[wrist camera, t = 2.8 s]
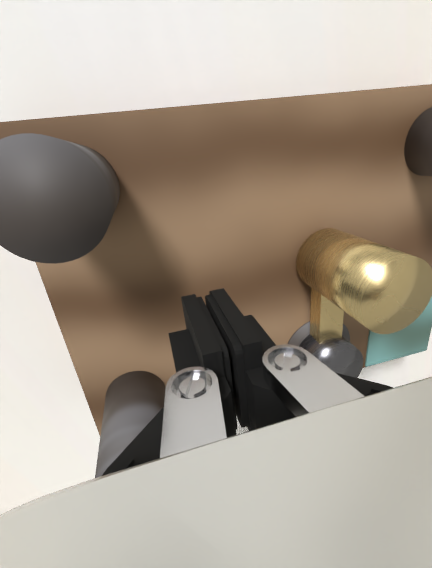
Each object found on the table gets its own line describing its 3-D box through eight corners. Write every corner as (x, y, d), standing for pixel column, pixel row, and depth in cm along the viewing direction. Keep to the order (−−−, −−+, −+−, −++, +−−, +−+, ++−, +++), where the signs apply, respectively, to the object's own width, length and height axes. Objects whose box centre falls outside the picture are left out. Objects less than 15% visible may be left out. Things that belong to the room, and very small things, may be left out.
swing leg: (341, 366, 19) (404, 429, 15) (295, 378, 19) (346, 448, 14) (352, 223, 15) (441, 249, 11) (295, 233, 15) (364, 265, 10)
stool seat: (14, 130, 13) (-126, 97, 6) (430, 92, 17) (638, 44, 10) (105, 401, 20) (89, 538, 13) (393, 328, 24) (504, 401, 17)
